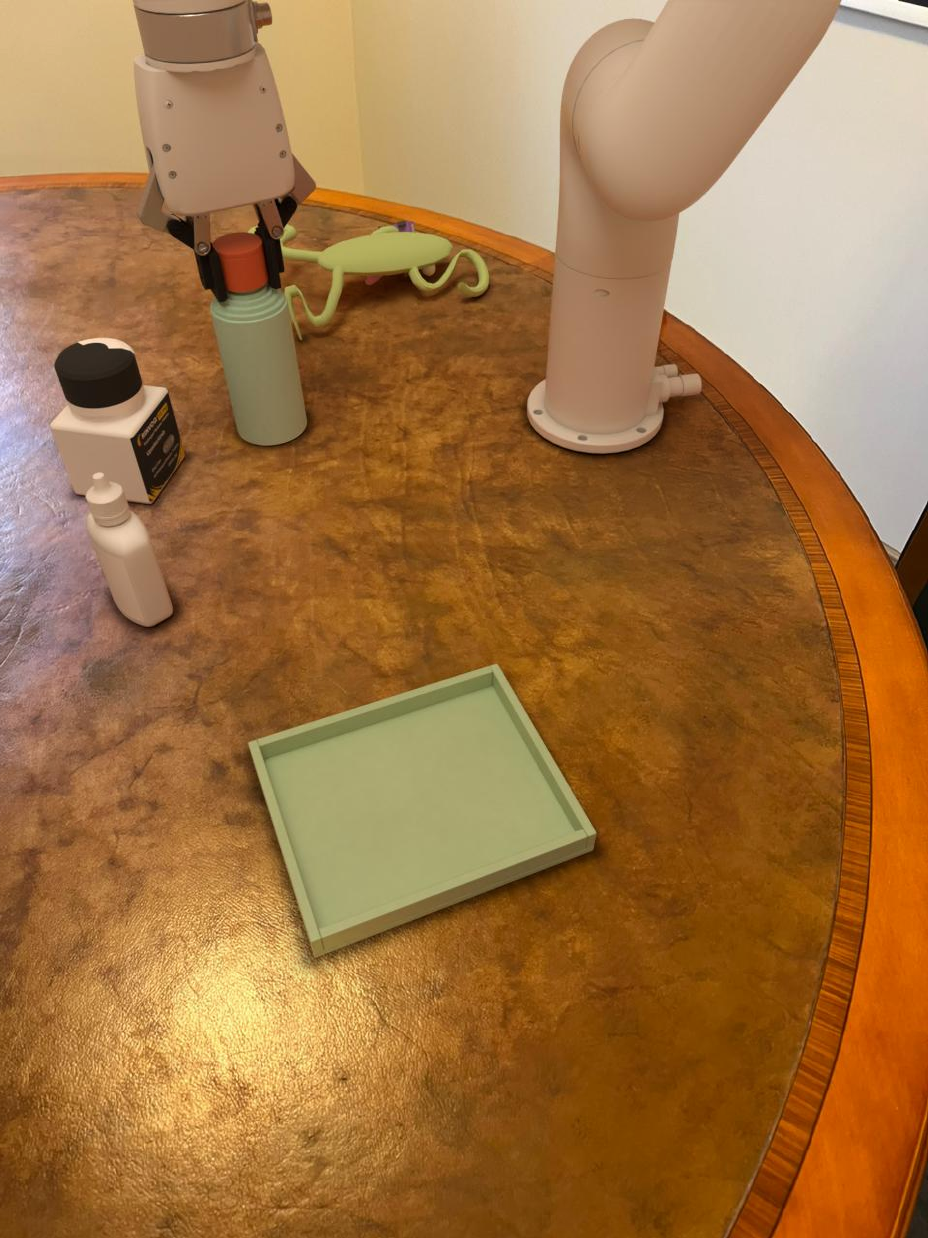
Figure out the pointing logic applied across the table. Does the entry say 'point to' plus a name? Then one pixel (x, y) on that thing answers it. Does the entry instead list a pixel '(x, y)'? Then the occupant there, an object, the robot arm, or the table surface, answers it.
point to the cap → (242, 261)
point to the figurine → (380, 263)
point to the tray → (414, 805)
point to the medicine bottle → (114, 421)
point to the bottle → (260, 365)
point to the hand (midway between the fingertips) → (245, 286)
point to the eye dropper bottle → (126, 555)
